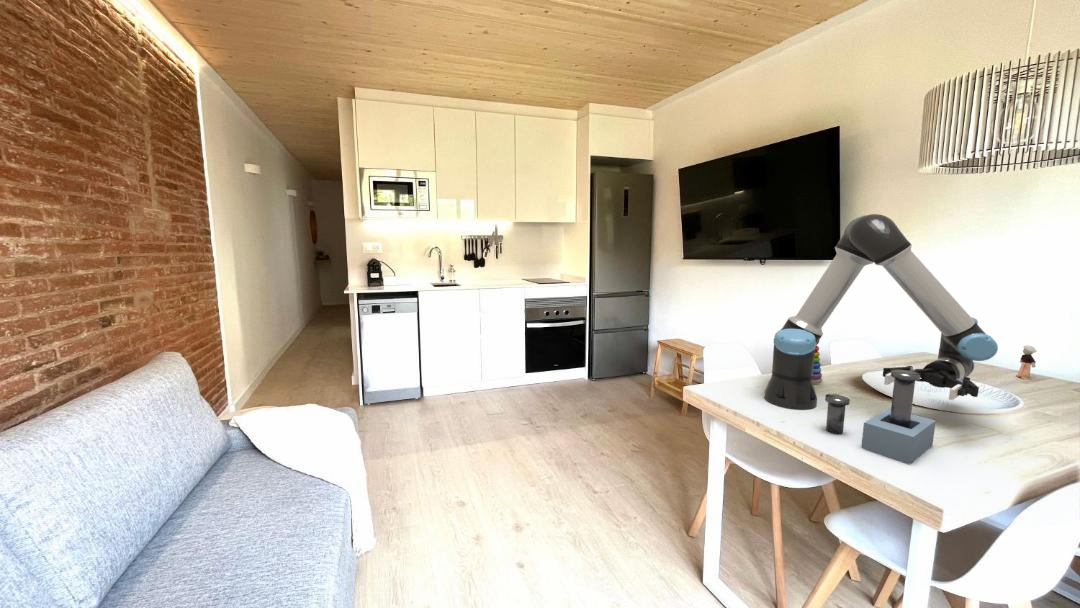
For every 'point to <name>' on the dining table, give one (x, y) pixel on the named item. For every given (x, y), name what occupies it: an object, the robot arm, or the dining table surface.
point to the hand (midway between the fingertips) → (917, 387)
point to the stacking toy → (816, 367)
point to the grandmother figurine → (1026, 362)
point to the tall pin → (903, 397)
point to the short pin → (836, 413)
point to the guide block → (898, 437)
